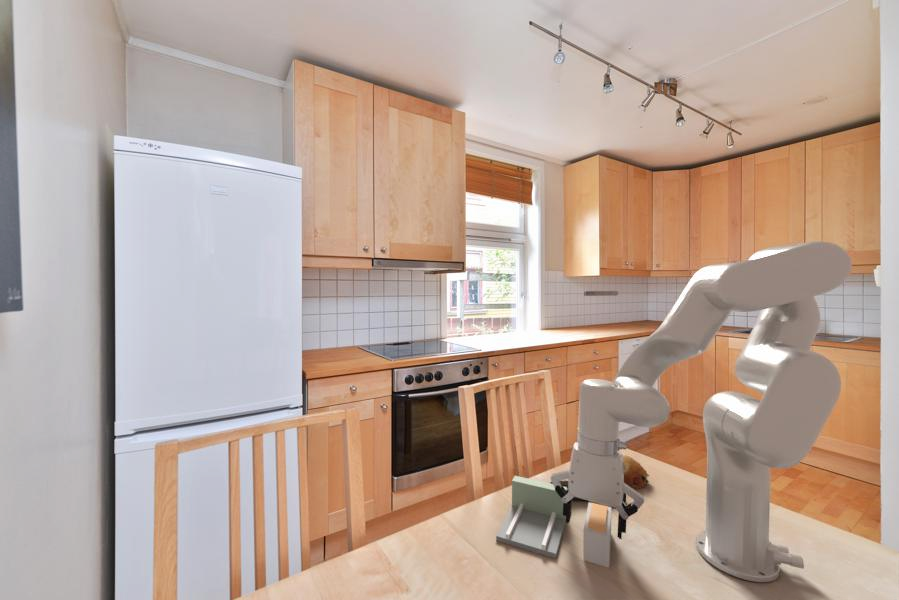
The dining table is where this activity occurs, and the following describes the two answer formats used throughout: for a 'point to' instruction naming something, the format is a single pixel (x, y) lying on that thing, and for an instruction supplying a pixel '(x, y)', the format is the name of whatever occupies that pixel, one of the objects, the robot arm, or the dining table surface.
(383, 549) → the dining table surface
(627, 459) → the bread roll
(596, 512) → the holder
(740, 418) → the robot arm
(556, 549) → the chute mount
